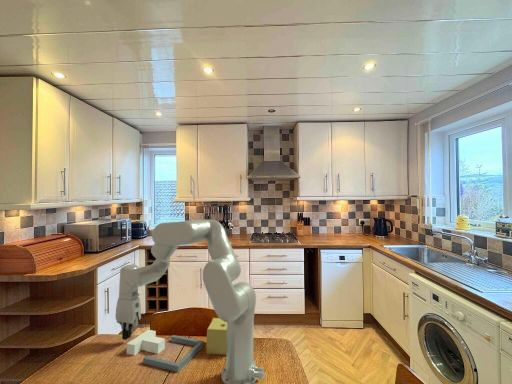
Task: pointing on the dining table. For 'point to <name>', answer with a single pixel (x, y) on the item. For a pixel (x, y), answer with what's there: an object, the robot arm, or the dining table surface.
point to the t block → (146, 343)
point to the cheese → (216, 337)
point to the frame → (183, 361)
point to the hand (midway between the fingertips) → (126, 338)
